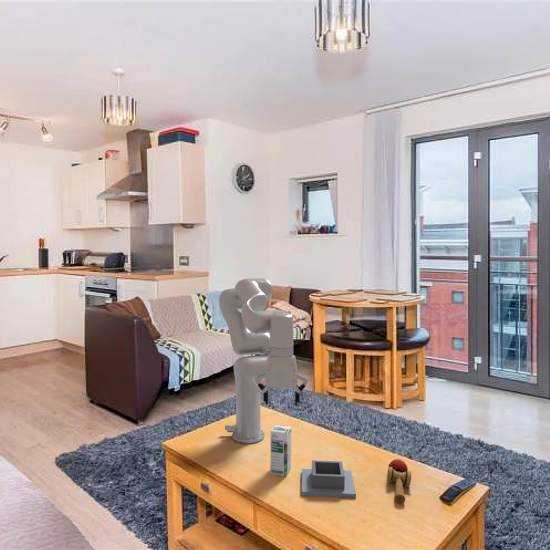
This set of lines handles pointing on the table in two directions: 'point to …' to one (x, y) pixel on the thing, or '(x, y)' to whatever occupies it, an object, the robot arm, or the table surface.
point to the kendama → (399, 478)
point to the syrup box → (280, 450)
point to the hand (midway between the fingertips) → (281, 403)
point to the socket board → (327, 480)
